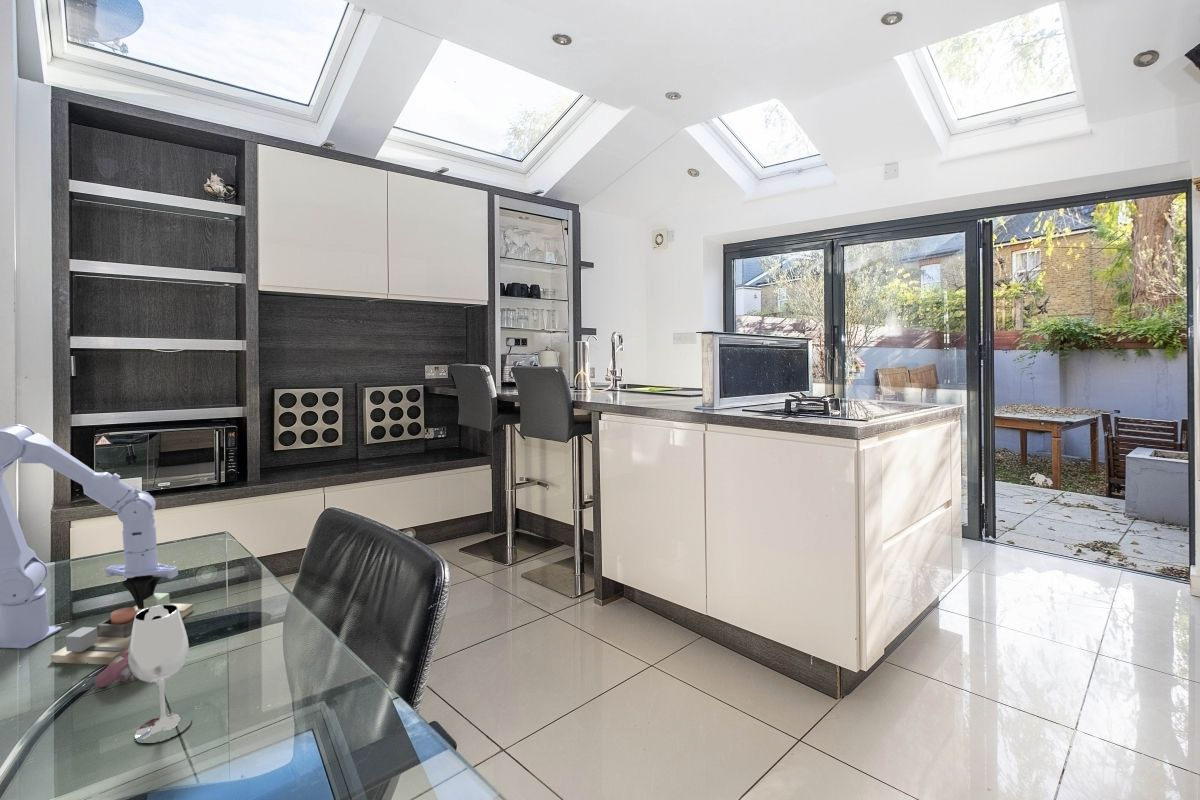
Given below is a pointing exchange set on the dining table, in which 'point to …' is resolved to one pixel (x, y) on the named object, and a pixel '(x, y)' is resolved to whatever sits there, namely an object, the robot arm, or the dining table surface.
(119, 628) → the control board
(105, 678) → the video game controller
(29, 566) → the robot arm
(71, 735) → the dining table surface
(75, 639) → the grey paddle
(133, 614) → the pink round button
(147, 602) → the pale green block
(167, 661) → the wineglass
